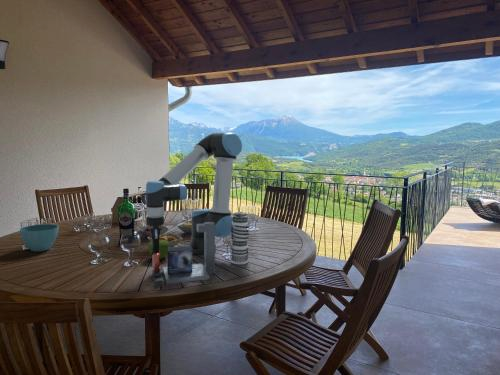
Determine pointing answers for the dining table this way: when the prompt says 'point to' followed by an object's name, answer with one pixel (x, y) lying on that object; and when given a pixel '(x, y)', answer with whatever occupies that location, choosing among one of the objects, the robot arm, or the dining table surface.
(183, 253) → the small box
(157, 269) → the lever
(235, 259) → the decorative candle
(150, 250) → the apple
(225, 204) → the robot arm
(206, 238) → the press
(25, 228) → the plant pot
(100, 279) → the dining table surface
